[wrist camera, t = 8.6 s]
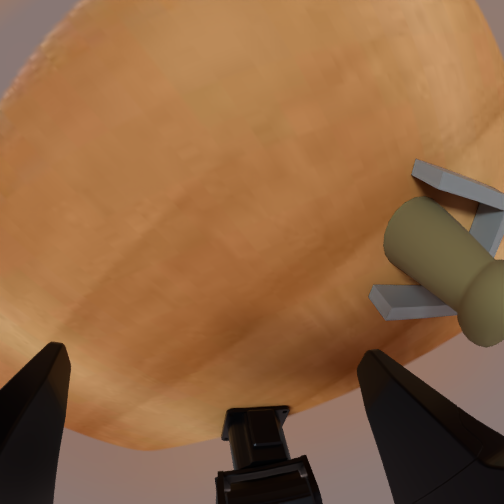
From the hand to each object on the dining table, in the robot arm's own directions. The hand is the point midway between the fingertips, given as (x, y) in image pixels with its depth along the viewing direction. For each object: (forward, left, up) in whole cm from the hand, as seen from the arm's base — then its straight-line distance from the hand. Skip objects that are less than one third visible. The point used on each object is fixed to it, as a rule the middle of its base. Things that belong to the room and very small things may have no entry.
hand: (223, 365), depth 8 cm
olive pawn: (0, -16, -12) cm, 20 cm away
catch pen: (0, -18, -12) cm, 21 cm away
